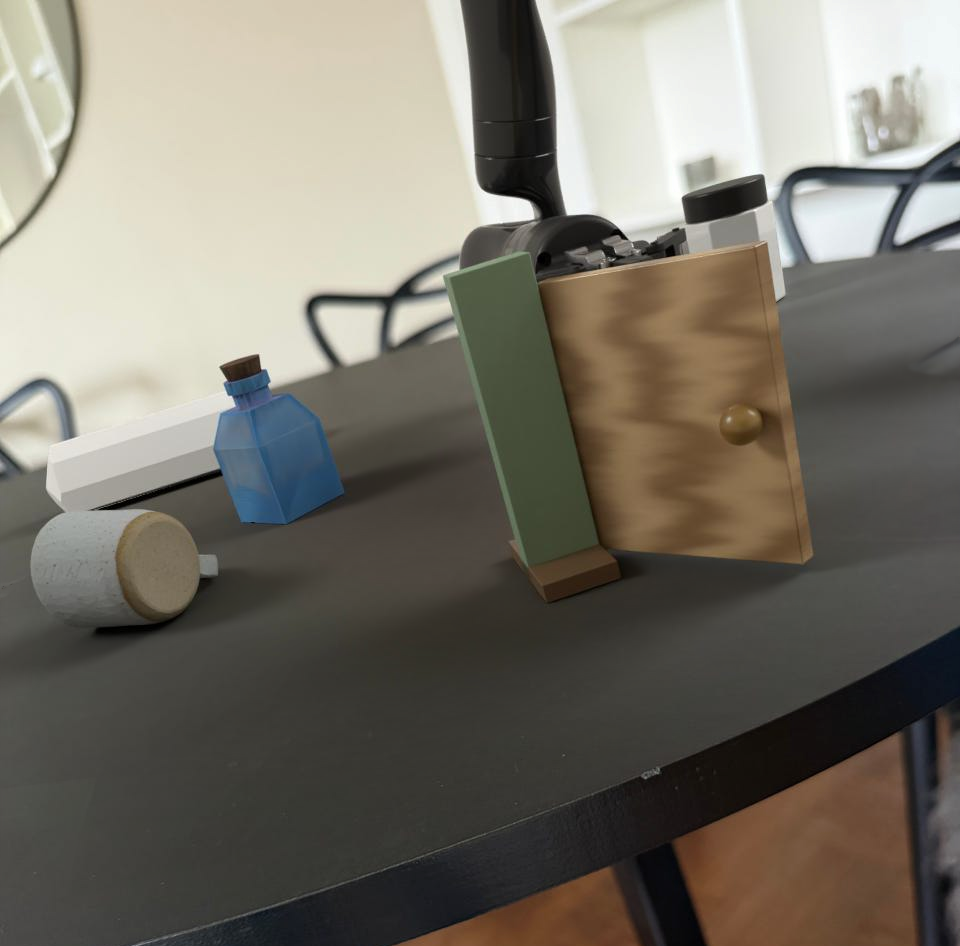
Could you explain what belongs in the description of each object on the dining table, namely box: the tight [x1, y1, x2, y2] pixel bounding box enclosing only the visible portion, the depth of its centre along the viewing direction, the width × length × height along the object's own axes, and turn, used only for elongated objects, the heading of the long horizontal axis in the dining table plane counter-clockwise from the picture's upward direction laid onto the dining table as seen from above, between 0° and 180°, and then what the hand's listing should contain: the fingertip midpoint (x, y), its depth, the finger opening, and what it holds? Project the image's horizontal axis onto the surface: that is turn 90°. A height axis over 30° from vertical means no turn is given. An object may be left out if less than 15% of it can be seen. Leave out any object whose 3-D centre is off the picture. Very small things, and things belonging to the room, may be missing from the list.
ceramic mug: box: [29, 508, 219, 629], centre depth 67 cm, size 11×8×8 cm
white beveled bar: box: [45, 390, 236, 513], centre depth 103 cm, size 7×7×24 cm
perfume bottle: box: [213, 353, 346, 525], centre depth 80 cm, size 6×6×12 cm
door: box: [537, 241, 814, 565], centre depth 47 cm, size 12×3×14 cm, turn 46°
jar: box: [681, 173, 786, 303], centre depth 104 cm, size 9×8×12 cm
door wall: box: [442, 252, 622, 604], centre depth 52 cm, size 4×8×16 cm, turn 12°
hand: (646, 278), depth 61 cm, fingers closed
